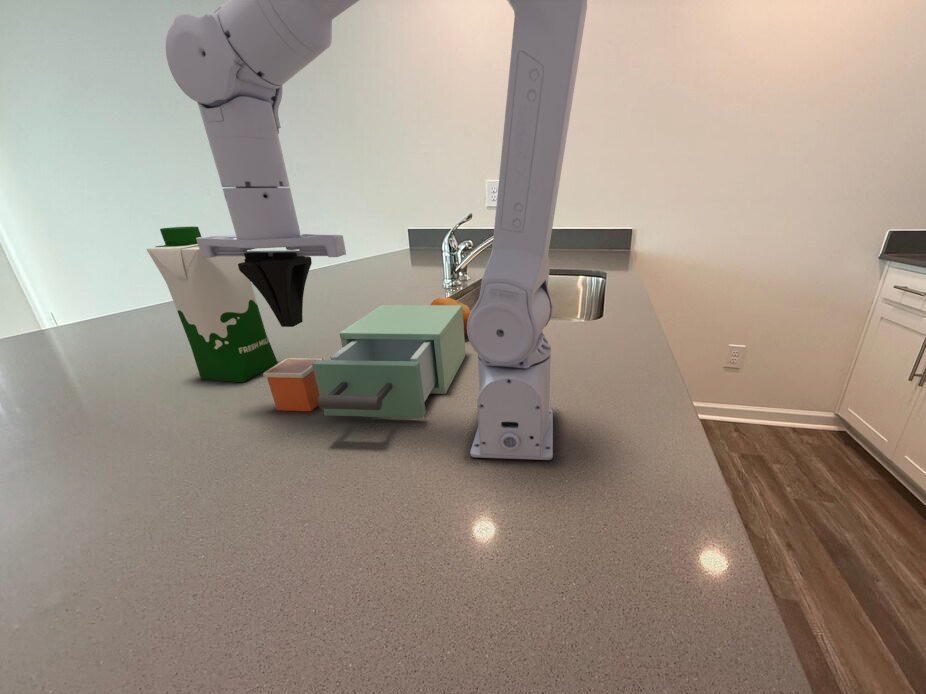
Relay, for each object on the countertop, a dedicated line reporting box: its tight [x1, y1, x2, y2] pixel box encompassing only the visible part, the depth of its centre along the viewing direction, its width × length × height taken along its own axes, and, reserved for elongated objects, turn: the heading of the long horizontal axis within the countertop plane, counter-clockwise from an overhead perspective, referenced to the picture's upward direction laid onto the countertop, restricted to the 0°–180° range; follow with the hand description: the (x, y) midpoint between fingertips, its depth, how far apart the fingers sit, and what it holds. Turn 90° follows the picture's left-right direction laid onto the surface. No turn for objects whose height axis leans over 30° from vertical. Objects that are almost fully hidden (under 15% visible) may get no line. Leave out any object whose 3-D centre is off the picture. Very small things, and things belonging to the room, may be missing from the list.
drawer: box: [312, 339, 438, 419], centre depth 48 cm, size 17×11×6 cm, turn 175°
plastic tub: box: [262, 357, 324, 412], centre depth 50 cm, size 5×5×5 cm
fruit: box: [430, 296, 471, 337], centre depth 72 cm, size 8×8×8 cm
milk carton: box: [146, 226, 279, 383], centre depth 56 cm, size 9×9×20 cm
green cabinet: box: [339, 304, 467, 395], centre depth 57 cm, size 14×13×8 cm
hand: (292, 324), depth 45 cm, fingers closed
